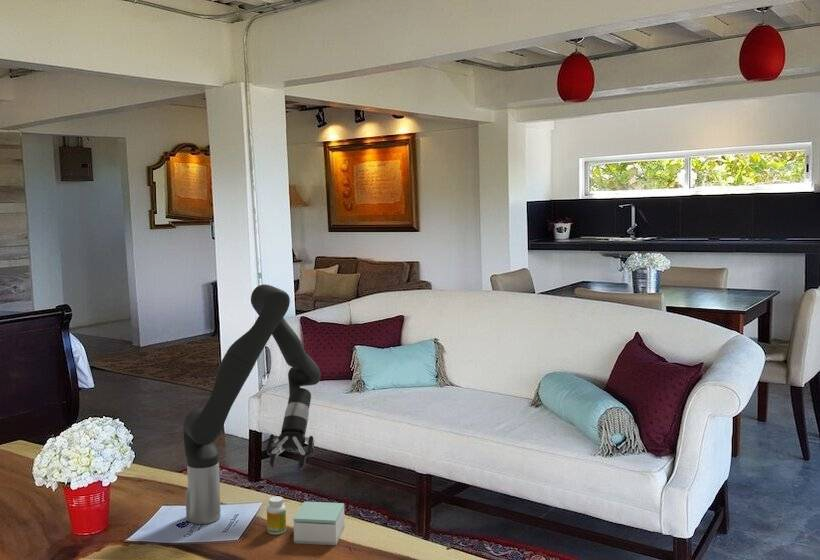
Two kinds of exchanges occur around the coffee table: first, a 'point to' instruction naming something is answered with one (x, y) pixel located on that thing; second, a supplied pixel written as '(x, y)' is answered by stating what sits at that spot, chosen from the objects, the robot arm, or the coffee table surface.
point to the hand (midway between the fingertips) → (286, 468)
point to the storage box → (318, 532)
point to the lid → (319, 512)
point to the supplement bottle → (276, 516)
